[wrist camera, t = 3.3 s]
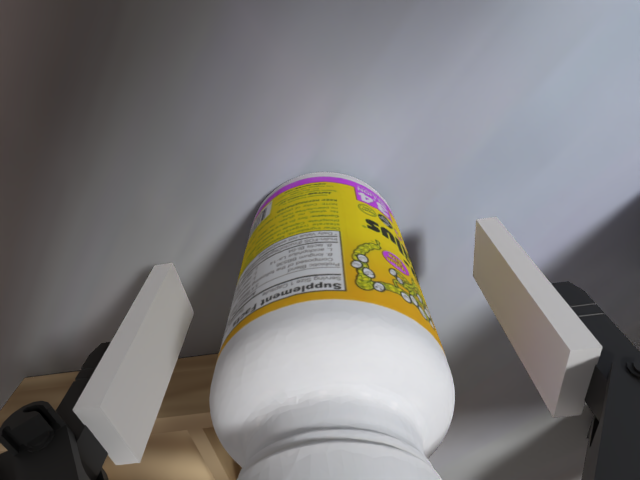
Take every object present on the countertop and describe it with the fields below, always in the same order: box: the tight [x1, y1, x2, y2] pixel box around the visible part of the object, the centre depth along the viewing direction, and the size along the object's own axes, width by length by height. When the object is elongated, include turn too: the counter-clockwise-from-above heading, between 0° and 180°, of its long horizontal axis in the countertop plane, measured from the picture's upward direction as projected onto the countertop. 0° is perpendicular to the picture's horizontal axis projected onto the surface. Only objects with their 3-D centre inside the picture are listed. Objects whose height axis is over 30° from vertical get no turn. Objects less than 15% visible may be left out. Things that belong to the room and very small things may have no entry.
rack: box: [0, 354, 242, 480], centre depth 25 cm, size 14×22×4 cm, turn 99°
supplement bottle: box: [209, 172, 455, 480], centre depth 13 cm, size 7×7×13 cm
